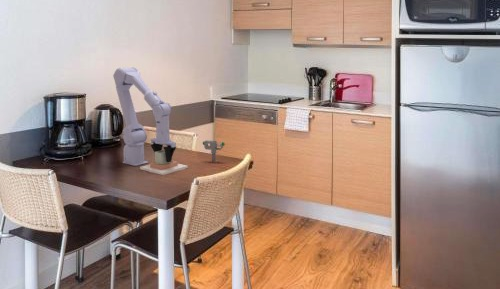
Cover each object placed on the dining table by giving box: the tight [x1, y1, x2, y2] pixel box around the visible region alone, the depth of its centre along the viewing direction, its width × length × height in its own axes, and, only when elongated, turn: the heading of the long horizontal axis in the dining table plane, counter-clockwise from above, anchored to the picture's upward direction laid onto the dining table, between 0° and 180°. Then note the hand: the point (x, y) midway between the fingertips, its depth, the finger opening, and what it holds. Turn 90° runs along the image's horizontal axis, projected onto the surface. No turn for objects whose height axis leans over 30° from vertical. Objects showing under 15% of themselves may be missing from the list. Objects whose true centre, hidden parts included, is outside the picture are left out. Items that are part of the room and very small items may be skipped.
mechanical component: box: [202, 140, 226, 163], centre depth 214 cm, size 3×10×10 cm, turn 78°
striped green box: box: [154, 149, 172, 165], centre depth 201 cm, size 6×4×7 cm, turn 142°
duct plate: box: [139, 160, 189, 176], centre depth 202 cm, size 15×15×3 cm
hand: (163, 160), depth 202 cm, fingers open, 6 cm apart
